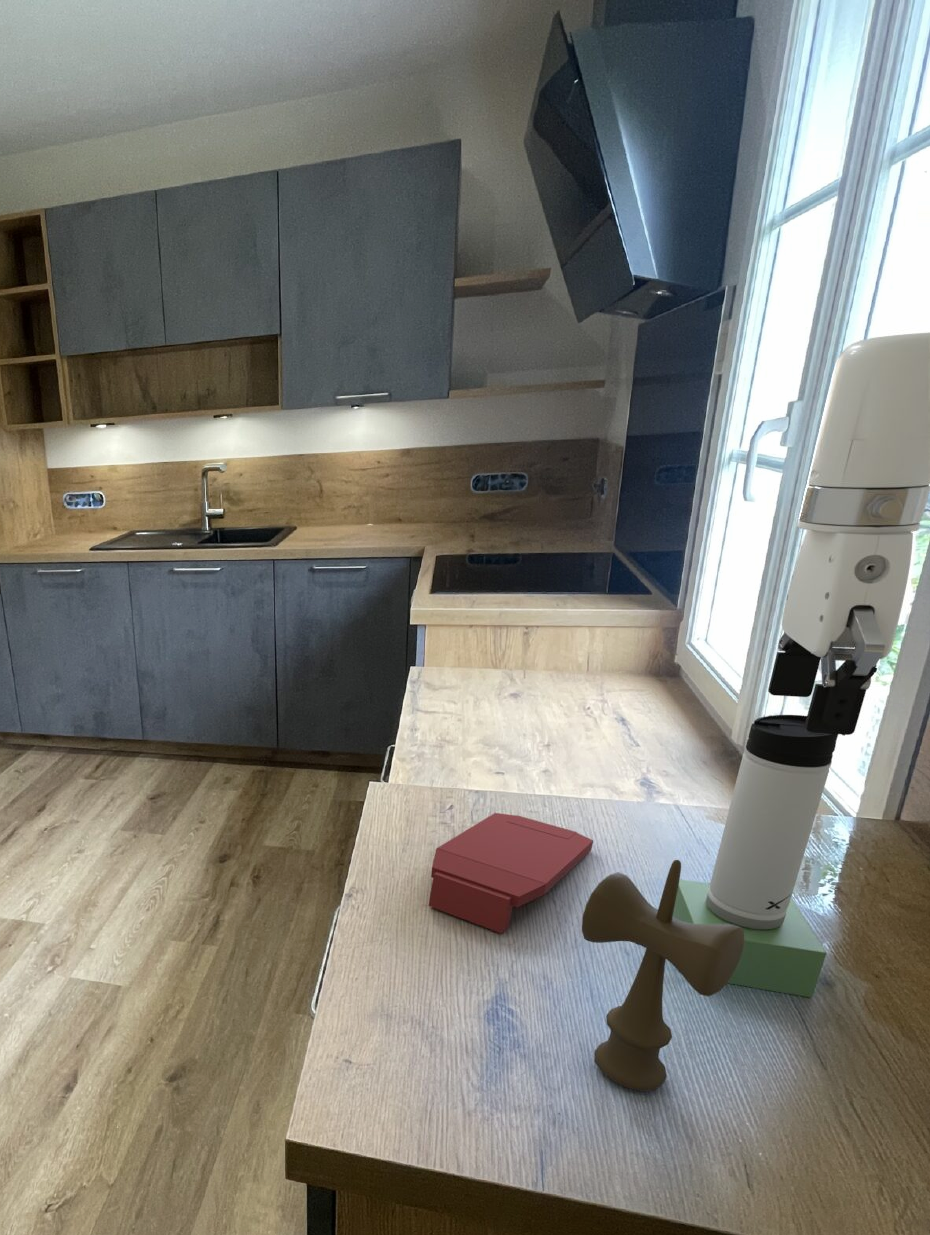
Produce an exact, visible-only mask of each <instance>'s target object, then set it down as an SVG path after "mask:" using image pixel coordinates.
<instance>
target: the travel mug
mask: <svg viewBox="0 0 930 1235" xmlns="http://www.w3.org/2000/svg"><path fill="white" fill-rule="evenodd" d="M806 718H807V715H803V714H774V715H766V716H761V717H758V718H756V719H755V720H754V721H753V723H751V725H750V729H749V733H748V736H747V737H748V739H747V741H746V744H745V745H744V750H743V754H742V758H741V762H740V765H739V769H738V773H737V777H736V780H735V784H734V788H733V793H732V796H731V800H730V804H729V808H728V812H727V815H726V819H725V820H726V821H725V824H724V827H723V831H722V836H721V840H720V844H719V847H718V850H717V851H718V852H717V855H716V860H715V863H714V866H713V870H712V874H711V879H710V882H709V883H710V888H709V890H708V894H707V898H706V904H707V906H708V908H709V909H710V910H711V911H712V912H713V913H714V914H715V915H717V916H718V917H720V918H722V919H723V920H725V921H727V922H730V923H732V924H735V925H738V926H741V927H745V928H750V929H758V930H767V929H774V928H777V927H779V926H780V925H782V924H783V922H784V919H785V916H786V912H787V908H788V906H789V902H790V899H791V897H792V896H793V893H794V889H795V885H796V883H797V880H798V875H799V872H800V869H801V866H802V863H803V859H804V856H805V852H806V849H807V846H808V842H809V839H810V836H811V832H812V829H813V825H814V822H815V819H816V816H817V814H818V813H817V812H818V810H819V806H820V803H821V799H822V796H823V793H824V789H825V786H826V783H827V779H828V776H829V772H830V768H831V766H832V763H833V761H832V760H833V756H834V752H835V750H836V746H837V740H838V737H839V734H827V733H812V732H808V731H807V730H806V729H805V722H806ZM842 736H846V735H842Z"/></svg>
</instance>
